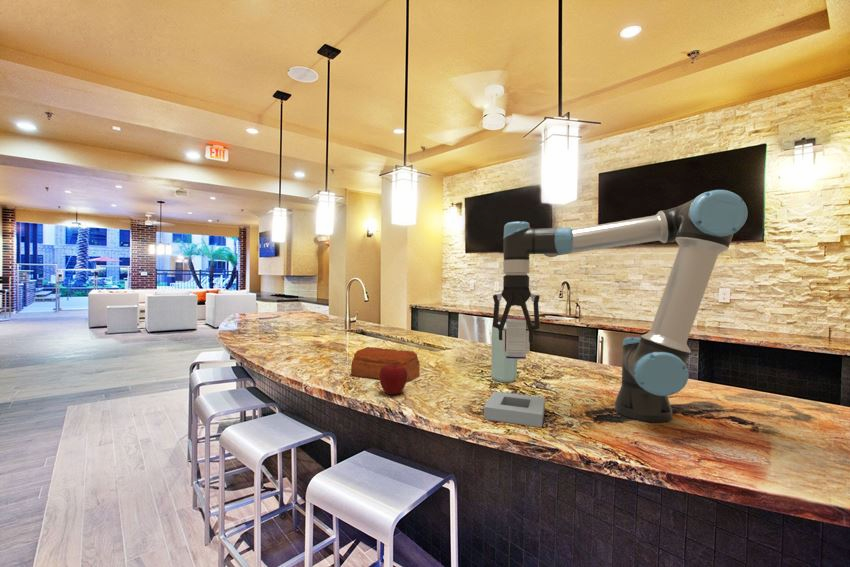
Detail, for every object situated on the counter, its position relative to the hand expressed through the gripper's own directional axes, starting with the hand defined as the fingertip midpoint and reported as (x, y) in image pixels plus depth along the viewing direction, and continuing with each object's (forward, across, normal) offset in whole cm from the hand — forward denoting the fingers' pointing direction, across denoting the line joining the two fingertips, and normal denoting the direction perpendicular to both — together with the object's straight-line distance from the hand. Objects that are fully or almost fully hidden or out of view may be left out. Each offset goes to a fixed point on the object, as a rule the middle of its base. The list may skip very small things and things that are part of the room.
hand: (515, 351), depth 115 cm
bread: (+18, +55, -24) cm, 63 cm away
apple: (+18, +42, -4) cm, 46 cm away
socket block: (+19, 0, 0) cm, 19 cm away
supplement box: (+2, 0, 0) cm, 2 cm away
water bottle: (+19, +9, -37) cm, 42 cm away
